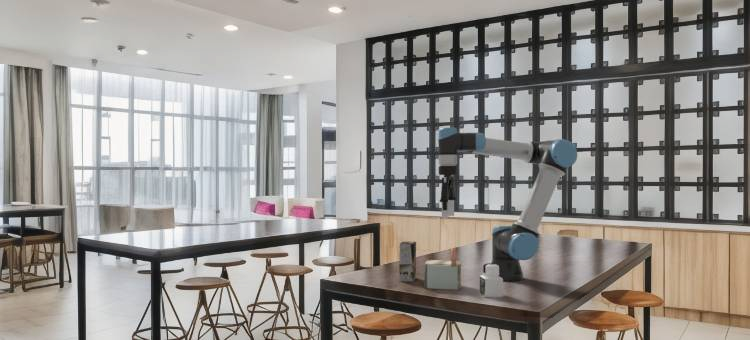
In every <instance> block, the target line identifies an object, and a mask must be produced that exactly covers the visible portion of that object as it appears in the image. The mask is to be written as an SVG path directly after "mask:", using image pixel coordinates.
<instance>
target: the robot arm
mask: <svg viewBox="0 0 750 340" xmlns="http://www.w3.org/2000/svg"><path fill="white" fill-rule="evenodd" d="M437 139H438V157H437V161H438V165H439V166H438V175H439V176H443V177H441V190H440V199H439V202H440V203H441V219H445V220H446V219H449V218H450V217H454V216H455V201H456V200H457V198H456V196H455V186H454V180H455V179H454V176H456V175H457V174H458V166H457V165H458V153H466V154H475V155H482V156H491V157H496V158H497V157H499V158H506V159H511V160H512V159H513V160H522V161H524V163H525V164H534V165H538V168H539V172H538V174H537V176H536V179H535V181H534V183H533V185H532V188H531V189H530V190H531V191H530V192H529V194H528V197H527V200H526V202H525V204H524V206H523V209H522V211H521V214H520V216H519V218H518V219H517V221H514V222H513V223H512V225H502V226H501V225H500V226H498V225H497V226H494V227H493V228H492V233H491V236H492V239H491V240H492V241H491V242H492V244H491V246H492V247H491V249H492V252H491V253H492V255H491V257H492V258H491V262H490V263H493V264H497V265H499V275H498V276H499V277H501V278H503V282H513V281H514V282H515V281H517V282H518V281H522V280H523V279H524V272H523V269H522V266H521V263H520V261H527V260H531V259H532V258H533V257H534V256H536V254H537V253H538V251H539V241H538V238H539V236H540V232H539V227H540V224H541V222H542V219H543V217H544V214H545V212H546V210H547V209H548V206H549V203H550V200H551V199H552V196H553V194H554V192H555V189H556V187H557V185H558V183H559V180H560V178H561V177H563V176H565V175H566V173H567V171H568V169H569V168H570V167H572V166H573V165H574V164H575V163H576V162H577V160H578V150H577V147H576V146H575V144H574V143H573V142H571V141H570V140H568V139H562V138H561V139H560V138H558V139H553V140H552V139H551V140H545V141H544V140H543V141H531V140H530V141H527V142H520V141H519V142H518V141H512V140H504V139H496V138H489V137H486V135H485V134H484V133H482V132H458V129H457V127H441V128H439V129H438V138H437Z"/></svg>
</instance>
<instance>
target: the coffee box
mask: <svg viewBox="0 0 750 340" xmlns="http://www.w3.org/2000/svg"><path fill="white" fill-rule="evenodd" d="M398 253H399V262H398V264H399V265H398V266H399V268H398V269H399V270H398V275H399V276H398V281H399V282H410V283H411V282H412V283H414V281H415V280H416V278H417V241H401V242H400V243H399V252H398Z"/></svg>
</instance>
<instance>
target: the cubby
mask: <svg viewBox="0 0 750 340" xmlns="http://www.w3.org/2000/svg"><path fill="white" fill-rule="evenodd" d="M425 265H450V266H451V260H442V259H441V260H438V259H437V260H436V259H426V261H425V262H424V266H425ZM456 266H458V273H457V290H458V291H459V290H461V286H462V285H461V284H462V283H461V281H462V276H461V275H462V273H461V272H462V270H461V269H462V261H461V260H456ZM429 289H433V288H429ZM452 290H454V291H455V289H452ZM457 290H456V291H457Z"/></svg>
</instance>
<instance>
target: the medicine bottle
mask: <svg viewBox="0 0 750 340" xmlns="http://www.w3.org/2000/svg"><path fill="white" fill-rule="evenodd" d="M482 268H483V269H482V272H483V273H482V274H481V275H479V294H480V295H481V296H482V297H484V298H503V297H504V281H503V278H501V277H499V276H498V275H499V265H497V264H493V263H491V262H490V263H484V264H483V265H482Z"/></svg>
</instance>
